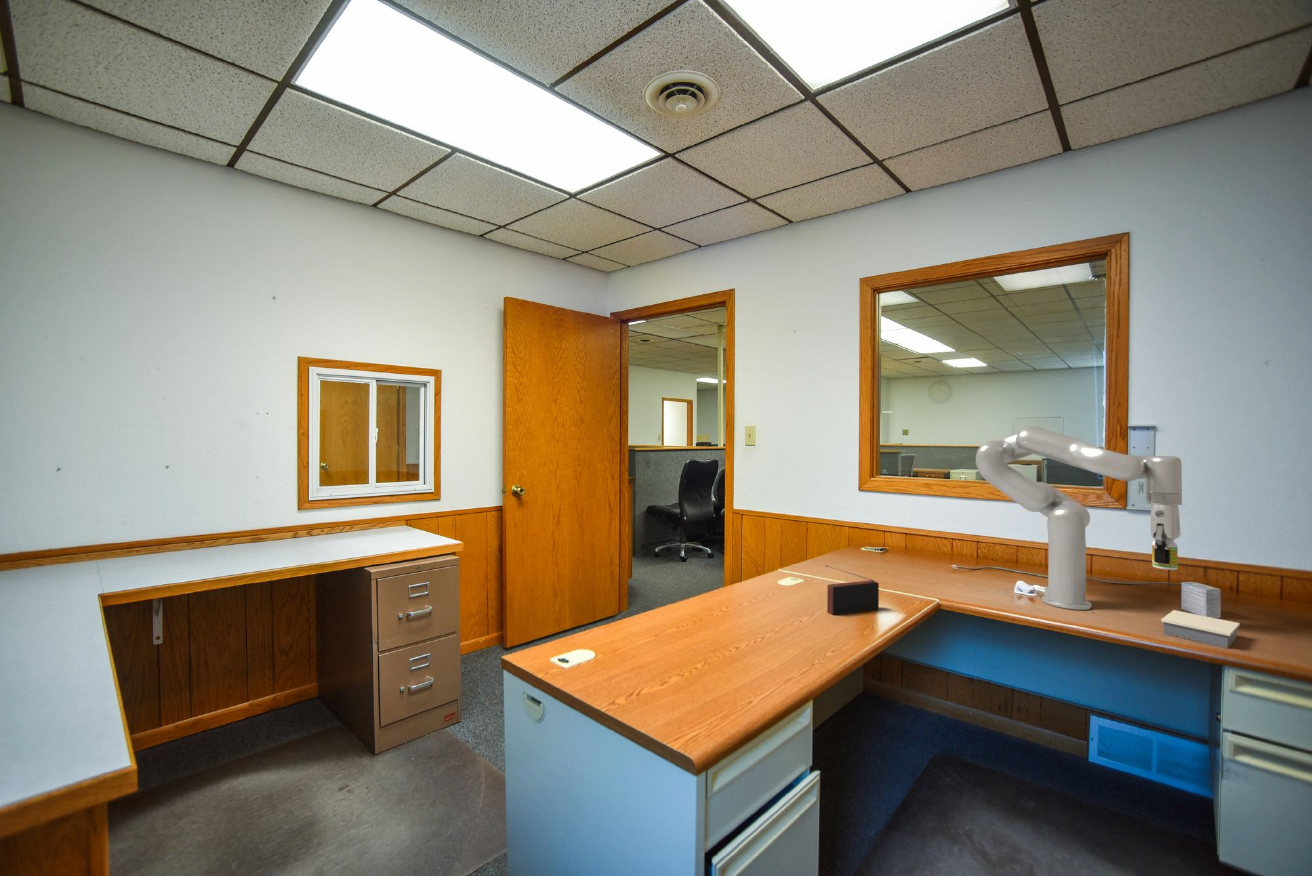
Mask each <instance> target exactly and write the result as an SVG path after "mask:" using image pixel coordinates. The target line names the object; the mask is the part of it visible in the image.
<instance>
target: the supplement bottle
mask: <svg viewBox="0 0 1312 876" xmlns="http://www.w3.org/2000/svg"><path fill="white" fill-rule="evenodd" d="M1162 538H1166V537H1162ZM1164 542H1165V541H1164ZM1154 548H1155V540H1154V541H1152V543H1151V565H1152V567H1153V568H1156V569H1158V570H1159V569H1160V570H1167V571H1176V570H1178V569H1179V567H1178V565H1179V562H1178V560H1179V559H1178V558H1179V557H1178V556H1179V555H1178V554H1179V552H1178V550H1179V549H1178V548H1179V547H1178V544H1177V542H1175V541H1174V542H1173V540H1171V538H1169V546H1168V550H1170V564H1163V563H1156V562H1155V561H1154Z"/></svg>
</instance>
